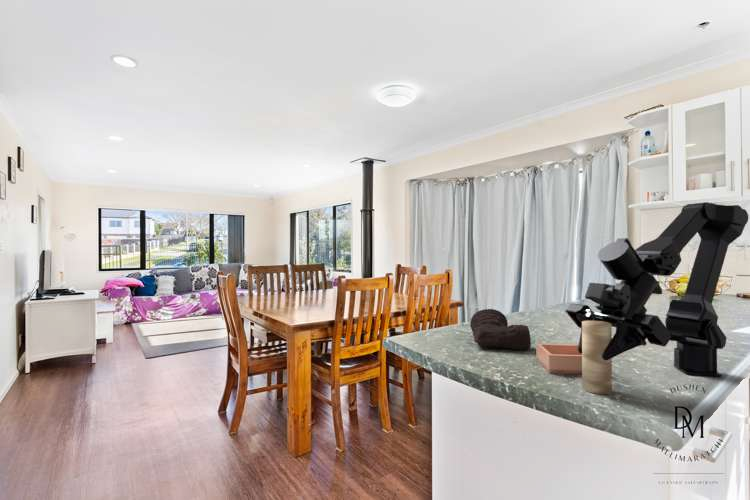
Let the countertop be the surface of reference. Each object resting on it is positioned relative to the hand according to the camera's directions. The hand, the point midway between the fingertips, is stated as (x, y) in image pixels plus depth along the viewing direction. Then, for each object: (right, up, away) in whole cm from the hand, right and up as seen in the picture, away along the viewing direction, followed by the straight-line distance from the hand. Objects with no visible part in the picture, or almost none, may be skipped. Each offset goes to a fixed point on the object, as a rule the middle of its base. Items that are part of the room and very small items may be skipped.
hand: (591, 355), depth 75 cm
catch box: (+3, -7, +15) cm, 17 cm away
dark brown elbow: (-6, -7, +37) cm, 38 cm away
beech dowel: (+1, -7, +1) cm, 7 cm away
